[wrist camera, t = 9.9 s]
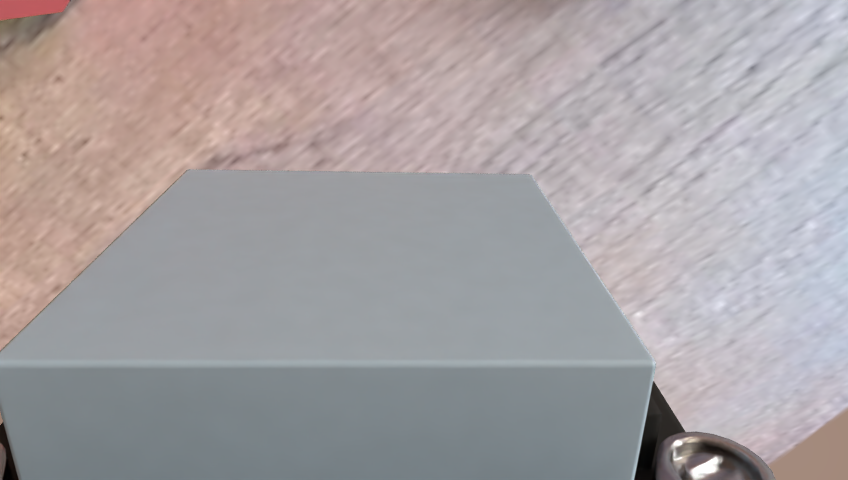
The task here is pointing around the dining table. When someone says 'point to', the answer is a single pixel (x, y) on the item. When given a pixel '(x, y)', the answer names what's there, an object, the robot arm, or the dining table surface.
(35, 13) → the puzzle cube
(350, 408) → the gray cube
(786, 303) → the dining table surface
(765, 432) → the dining table surface
